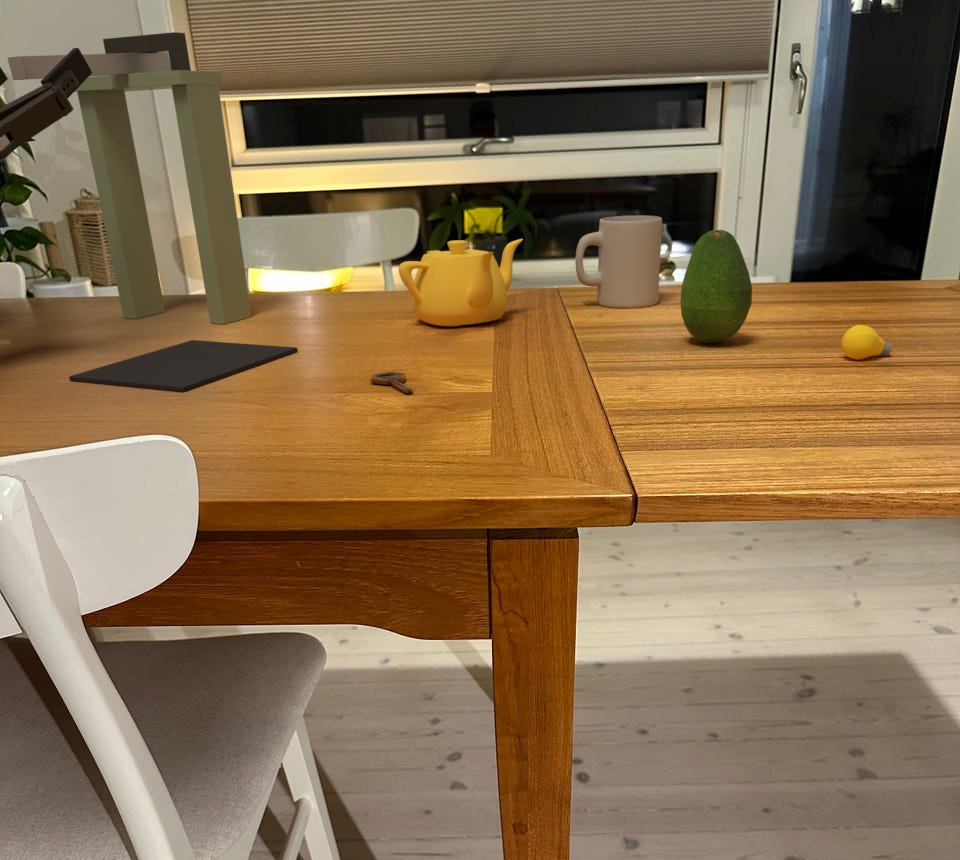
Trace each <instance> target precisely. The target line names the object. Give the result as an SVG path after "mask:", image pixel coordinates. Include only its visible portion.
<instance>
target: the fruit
mask: <svg viewBox="0 0 960 860" xmlns="http://www.w3.org/2000/svg"><path fill="white" fill-rule="evenodd" d="M683 276H684V277H683V280H682V282H681V283H682V284H681V287H680V288H681V289H680V303H679V304H680V313H681V318H682V320H683V324H684V326H685V329H686V330H687V331H688V334H690V336H691V337H693V338H694V339H696V340H698V341H699V342H701V343H704V344H717V343H718V344H719V343H721V342H724V341H725V340H726V341H727V340H729V339H730V338H732V337H734V336H735V335H736V334H737V333H738V332H739V330H740V329H741V328H742V326H743V325H744V323H745V321H746V319H747V317H748V315H749V312H750V310H751V306H752V303H753V302H752V301H753V299H752V298H753V296H752V295H753V285H752V282H751V275H750V272H749V269H748V267H747V264H746V261H745V258H744V255H743V252H742V250H741V248H740V245H739V243H738V242H737V239H736V238H735V237H734V235H733V234H732V233H731V232H729V231H727V230H724V229H714V230H709V231H707V232H705V233H704V234H702V235H701V237H699V239H697V241H696V243H695V245H694V246H693V249H692V252H691V254H690V257H689V261H688V264H687V267H686V271H685V273H684V275H683Z"/></svg>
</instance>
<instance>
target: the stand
mask: <svg viewBox="0 0 960 860" xmlns="http://www.w3.org/2000/svg"><path fill="white" fill-rule="evenodd" d="M186 38H187V36H186V32H176V31H172V32H162V33H151V34H141V35H130V36H119V37H109V38H108V37H107V38H103V39H102V42H103V48H104V54H118V53H154V52H168V55H169V60H170V65H171V71H162V72H149V73H135V74H122V75H104V76H89V77H88V78H87V79H86V80H85V81H84V82H83V83H82V84H81V85H80V86H79V87H78V88H77V89H76V90H75V92H74V93H76V94H77V99H78V102H79V106H80V113H81V118H82V122H83V126H84V132H85V136H86V142H87V146H88V152H89V156H90V161H91V166H92V170H93V175H94V181H95V185H96V190H97V195H98V200H99V205H100V209H101V214H102V219H103V225H104V229H105V233H106V238H107V243H108V248H109V249H108V250H109V253H110V258H111V263H112V268H113V272H114V277H115V278H114V279H115V282H116V283H115V284H116V287H117V293H118V297H119V302H120V306H121V312H122V316H123V317H122V318H123V319H131V320H138V319H141V318H145V317H150V316H154V315H157V314H161V313H165V312H166V307H165V302H164V297H163V292H162V286H161V280H160V276H159V270H158V265H157V260H156V259H157V258H156V254H155V249H154V244H153V237H152V232H151V227H150V221H149V217H148V210H147V205H146V199H145V195H144V189H143V184H142V179H141V173H140V167H139V162H138V156H137V151H136V145H135V140H134V135H133V130H132V124H131V119H130V113H129V107H128V103H127V97H126V92H140V91H155V90H171V91H172V97H173V104H174V110H175V117H176V121H177V128H178V133H179V140H180V146H181V153H182V158H183V165H184V170H185V176H186V182H187V188H188V194H189V195H188V196H189V200H190V201H189V202H190V207H191V214H192V219H193V224H194V231H195V237H196V242H197V249H198V250H197V251H198V256H199V261H200V267H201V274H202V279H203V286H204V292H205V298H206V304H207V310H208V316H209V322H210V324H211V325H227V324H231V323H235V322H238V321H241V320H245V319H248V318H252V310H251V302H250V296H249V287H248V283H247V274H246V268H245V267H246V266H245V261H244V260H245V259H244V254H243V247H242V240H241V233H240V226H239V220H238V211H237V207H236V200H235V199H236V197H235V191H234V185H233V184H234V183H233V178H232V177H233V176H232V170H231V163H230V156H229V149H228V144H227V136H226V130H225V129H226V128H225V121H224V116H223V108H222V100H221V95H220V88H219V87H220V86H224V80H223V73H222V71H213V70H212V71H208V70H192V68H191V62H190V56H189V49H188V43H187V39H186Z"/></svg>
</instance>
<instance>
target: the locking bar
mask: <svg viewBox="0 0 960 860" xmlns="http://www.w3.org/2000/svg"><path fill="white" fill-rule="evenodd" d="M66 55H67V54H56V55H55V54H54V55H53V54H51V55H50V54H49V55H19V56H9V57H7V58H6V59H7V61H8V67H9V69H10V74H11V77H12V80H13V81H25V80H42V79H43V78H44V77H45V76H46V75H47V74H48V73H49V72H50V71H51V70H52V69H53V68H54V67H55V66H56V65H57V64H58V63H59V62H60V61H61V60H62V59H63V58H64V57H65V56H66ZM82 55H83V57H84V58H85V60H86V62H87V64H88V66H89V67H90V69H91V71H92V74H91V75H90V76H89V77H95V76H108V75H122V74H135V73H149V72H162V71H171V65H170V59H169V53H168V52H154V53H118V54H106V53H87V54H83V53H82Z"/></svg>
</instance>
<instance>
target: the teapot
mask: <svg viewBox="0 0 960 860" xmlns="http://www.w3.org/2000/svg"><path fill="white" fill-rule="evenodd" d="M523 240H524V239H523V238H519V239H516V240H512V241H510V242H508V243H507V244H506V246H505V247H504V249H503V251H502V256H501V262H500V265H499V264H498V262H497V260H496V258H495V256H494V251H486V250H480V249H466V248H467V244H468V241H466V240H462V239H458V240H449V241H447V243H446V244H447V247H448V249H449V250H444V251H443V250H442V251H441V250H438V249H436V250H435V249H434V250H427V251H426V253H424V254H423V255H422V257H421V259H420V261H418V260H416V261H415V260H407V261H403V262H401V263H400V264H399V266H398V275H399V278H400V279H401V281H402V284H403V285H404V287H405V288H406V289H407V291H408V292H409V293H410V294H411V296H412V297H411V299H412V300H411V305H412V309H413V311H414V313H415V314H416V317H418V319H419V320H420V321H421V322H424V323H427V324H429V325H433V326H441V327H448V328H449V327H450V328H451V327H452V328H455V327H460V326H464V325H465V326H467V325H473V324H474V325H476V324H482V323H483V324H485V323H490V322H493V321H497V320H500V319H502V318H503V316H504V314H505V311H506V310H507V308H508V303H509V302H508V293H507V292H508V290H509V288H510V287H511V285H512V280H513V265H514V264H513V259H514V255H515V251H516V249H517V247H518V246H519V245H520V244H521V243H522V241H523ZM415 269H417V271H416V273H415V277H414V278H413V274H412V271H414V270H415Z"/></svg>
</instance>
